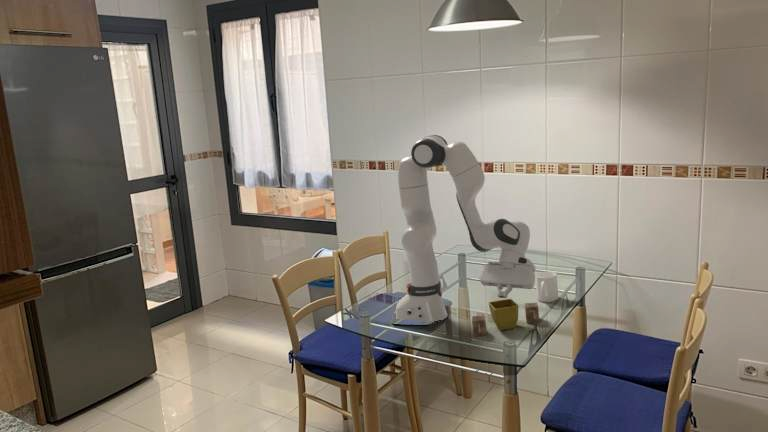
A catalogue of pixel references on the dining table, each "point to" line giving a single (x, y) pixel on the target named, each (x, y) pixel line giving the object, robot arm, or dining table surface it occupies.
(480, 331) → the numbered block one
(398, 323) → the dining table surface
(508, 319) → the flower pot
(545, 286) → the mug
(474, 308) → the dining table surface
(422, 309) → the robot arm
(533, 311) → the numbered block seven
